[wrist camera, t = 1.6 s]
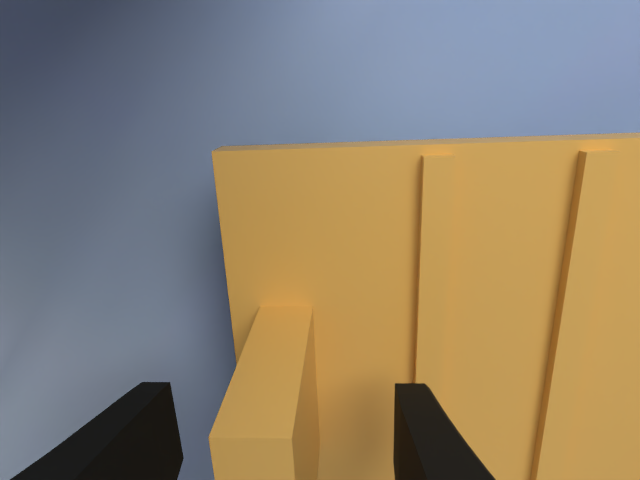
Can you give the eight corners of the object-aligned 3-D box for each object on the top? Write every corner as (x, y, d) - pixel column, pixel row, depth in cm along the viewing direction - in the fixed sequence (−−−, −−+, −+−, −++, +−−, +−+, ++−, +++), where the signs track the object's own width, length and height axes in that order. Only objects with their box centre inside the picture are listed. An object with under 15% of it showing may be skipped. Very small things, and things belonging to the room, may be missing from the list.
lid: (929, 119, 9) (1629, 163, 4) (776, 508, 13) (1056, 788, 8) (229, 142, 10) (114, 201, 5) (266, 497, 14) (219, 739, 9)
